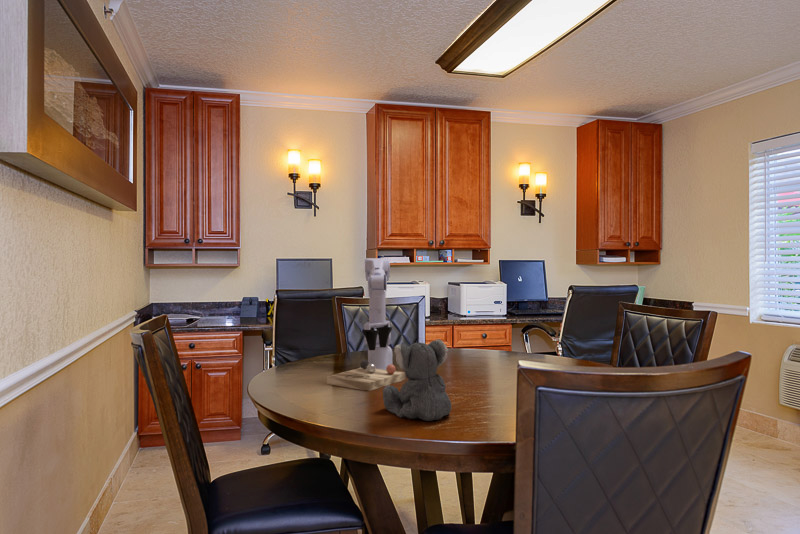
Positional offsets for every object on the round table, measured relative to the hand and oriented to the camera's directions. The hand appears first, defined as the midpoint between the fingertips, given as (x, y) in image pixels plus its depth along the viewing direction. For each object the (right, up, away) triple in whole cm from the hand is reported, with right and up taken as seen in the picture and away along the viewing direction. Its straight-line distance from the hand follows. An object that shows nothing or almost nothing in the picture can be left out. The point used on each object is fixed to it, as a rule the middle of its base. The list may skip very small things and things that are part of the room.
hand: (377, 348), depth 181 cm
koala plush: (+14, -11, -44) cm, 47 cm away
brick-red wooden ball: (+5, -6, -5) cm, 9 cm away
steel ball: (-2, -6, -3) cm, 7 cm away
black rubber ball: (-5, -6, +5) cm, 9 cm away
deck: (-3, -10, -5) cm, 12 cm away
